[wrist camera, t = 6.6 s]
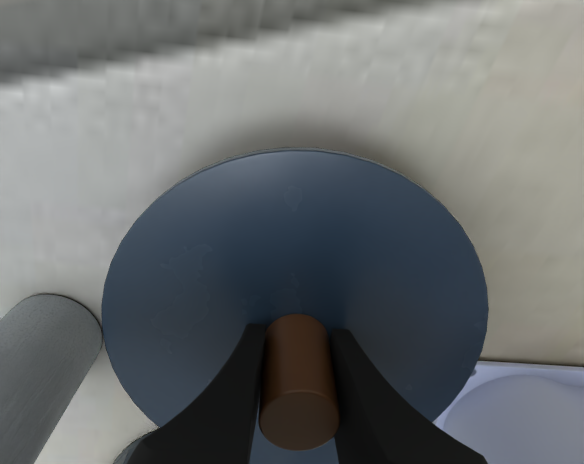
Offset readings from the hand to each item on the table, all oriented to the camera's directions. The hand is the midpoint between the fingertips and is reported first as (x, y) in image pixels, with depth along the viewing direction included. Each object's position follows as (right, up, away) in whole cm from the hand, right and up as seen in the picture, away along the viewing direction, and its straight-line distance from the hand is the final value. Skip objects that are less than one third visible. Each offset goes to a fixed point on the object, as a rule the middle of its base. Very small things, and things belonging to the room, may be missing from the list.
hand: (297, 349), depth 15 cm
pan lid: (0, 0, +1) cm, 1 cm away
